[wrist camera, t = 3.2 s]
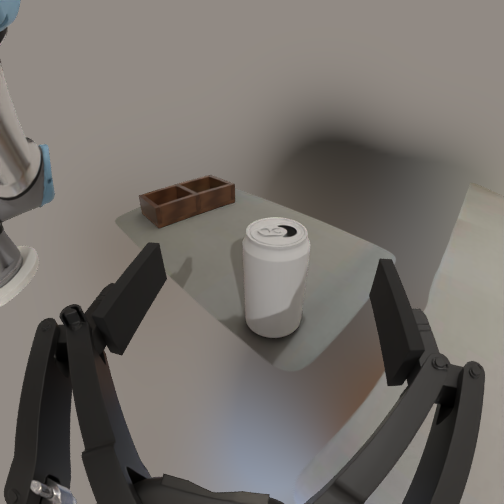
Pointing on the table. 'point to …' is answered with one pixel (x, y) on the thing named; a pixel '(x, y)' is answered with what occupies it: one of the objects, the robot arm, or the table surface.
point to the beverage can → (275, 275)
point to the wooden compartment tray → (186, 199)
